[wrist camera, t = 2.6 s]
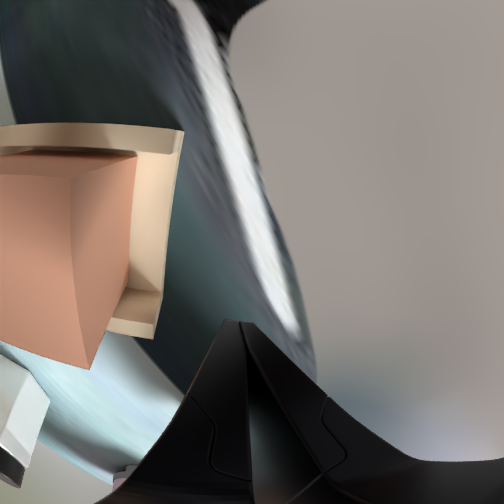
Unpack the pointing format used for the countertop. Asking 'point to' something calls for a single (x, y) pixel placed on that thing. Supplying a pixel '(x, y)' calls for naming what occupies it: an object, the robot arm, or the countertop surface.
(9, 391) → the jar
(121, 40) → the countertop surface
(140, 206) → the chute
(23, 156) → the block
